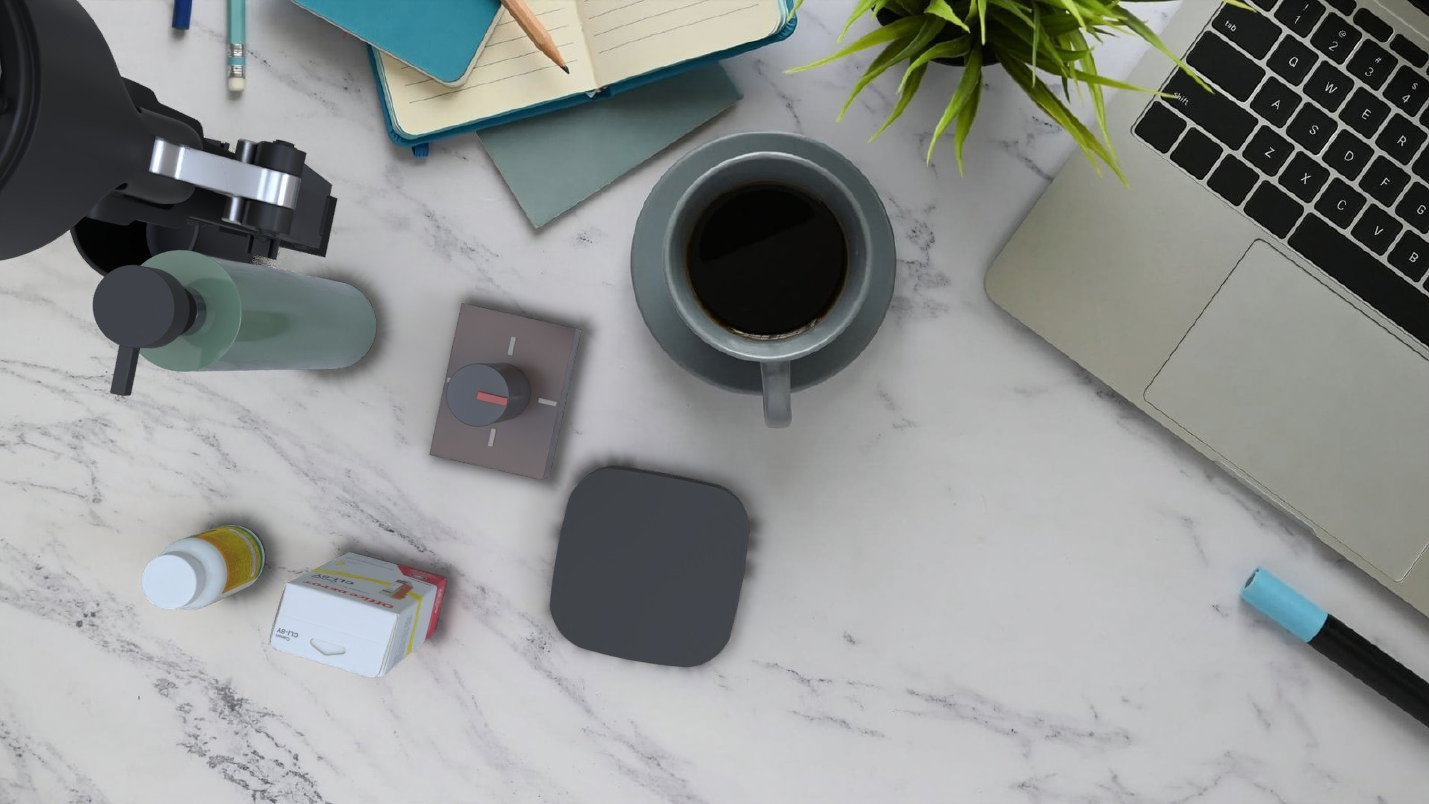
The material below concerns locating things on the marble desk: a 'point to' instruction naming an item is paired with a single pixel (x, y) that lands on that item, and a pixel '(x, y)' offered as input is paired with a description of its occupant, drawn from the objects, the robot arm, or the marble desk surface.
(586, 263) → the marble desk surface
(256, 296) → the lotion bottle
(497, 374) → the dial
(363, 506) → the marble desk surface
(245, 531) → the supplement bottle
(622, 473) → the media streaming box
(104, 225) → the mug
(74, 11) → the robot arm
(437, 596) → the ink box
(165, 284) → the pump head
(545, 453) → the dial panel
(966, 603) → the marble desk surface
